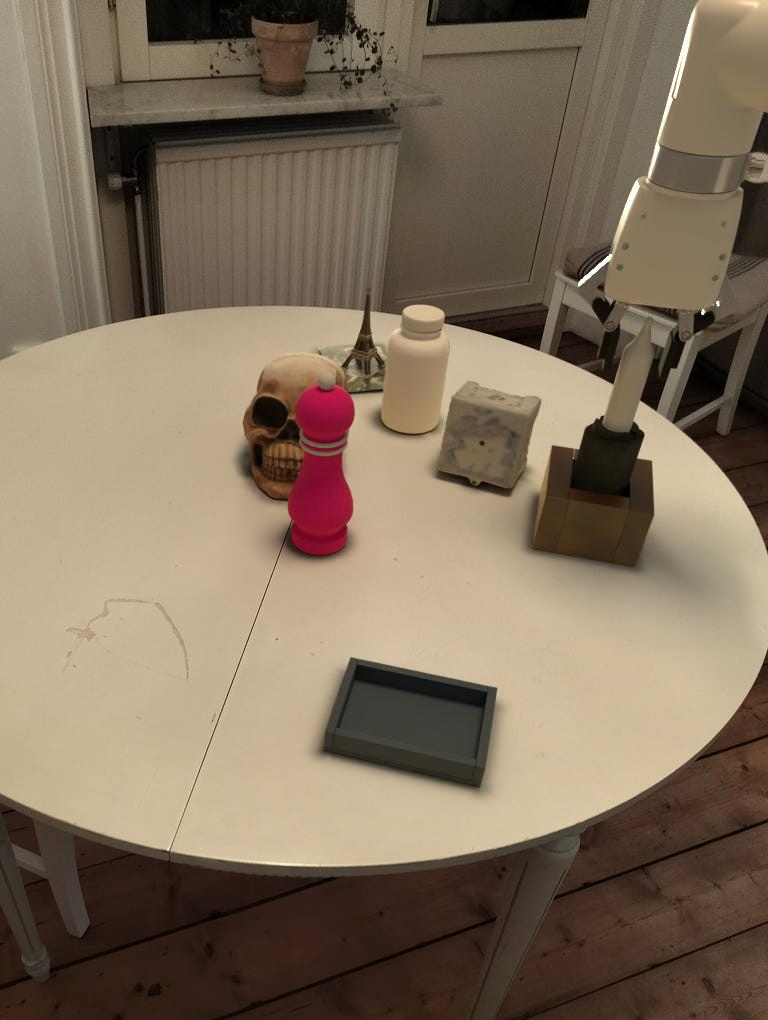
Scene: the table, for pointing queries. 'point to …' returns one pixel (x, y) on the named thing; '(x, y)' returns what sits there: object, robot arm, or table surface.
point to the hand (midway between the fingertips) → (634, 368)
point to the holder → (593, 513)
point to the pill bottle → (415, 371)
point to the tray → (412, 721)
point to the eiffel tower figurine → (360, 358)
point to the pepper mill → (322, 469)
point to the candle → (616, 425)
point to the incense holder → (487, 435)
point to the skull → (282, 418)
